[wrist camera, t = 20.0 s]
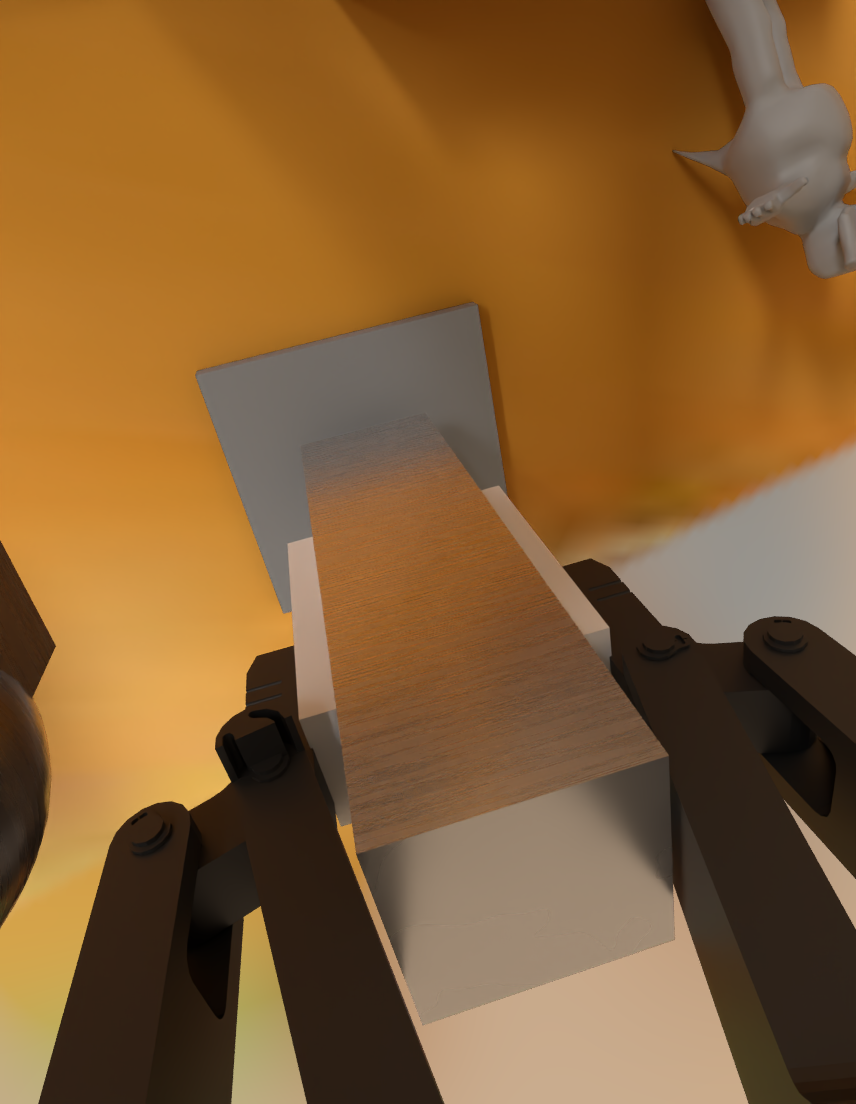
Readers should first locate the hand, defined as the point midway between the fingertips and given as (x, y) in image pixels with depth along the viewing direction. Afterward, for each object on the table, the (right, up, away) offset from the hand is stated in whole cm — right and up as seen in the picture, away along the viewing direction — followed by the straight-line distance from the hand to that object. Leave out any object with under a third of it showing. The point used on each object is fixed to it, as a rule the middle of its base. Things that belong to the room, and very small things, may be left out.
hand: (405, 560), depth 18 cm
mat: (-1, +3, +6) cm, 7 cm away
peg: (-1, +2, +4) cm, 5 cm away
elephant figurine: (+10, +13, +4) cm, 17 cm away
